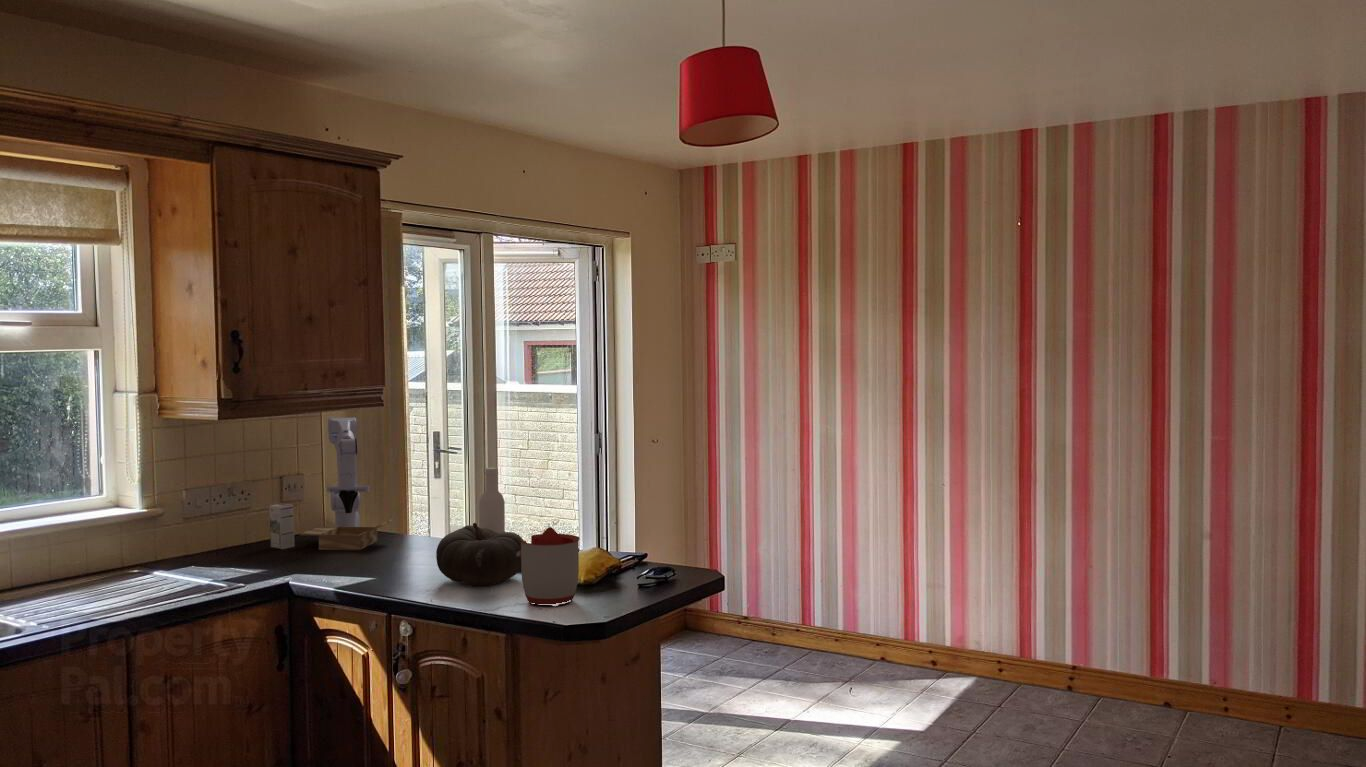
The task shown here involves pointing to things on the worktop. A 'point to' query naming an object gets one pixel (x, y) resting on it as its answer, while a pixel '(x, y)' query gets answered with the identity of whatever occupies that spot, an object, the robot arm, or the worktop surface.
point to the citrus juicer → (550, 567)
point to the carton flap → (377, 526)
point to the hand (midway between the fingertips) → (348, 513)
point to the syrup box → (282, 526)
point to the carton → (343, 537)
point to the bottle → (492, 504)
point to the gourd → (479, 555)
